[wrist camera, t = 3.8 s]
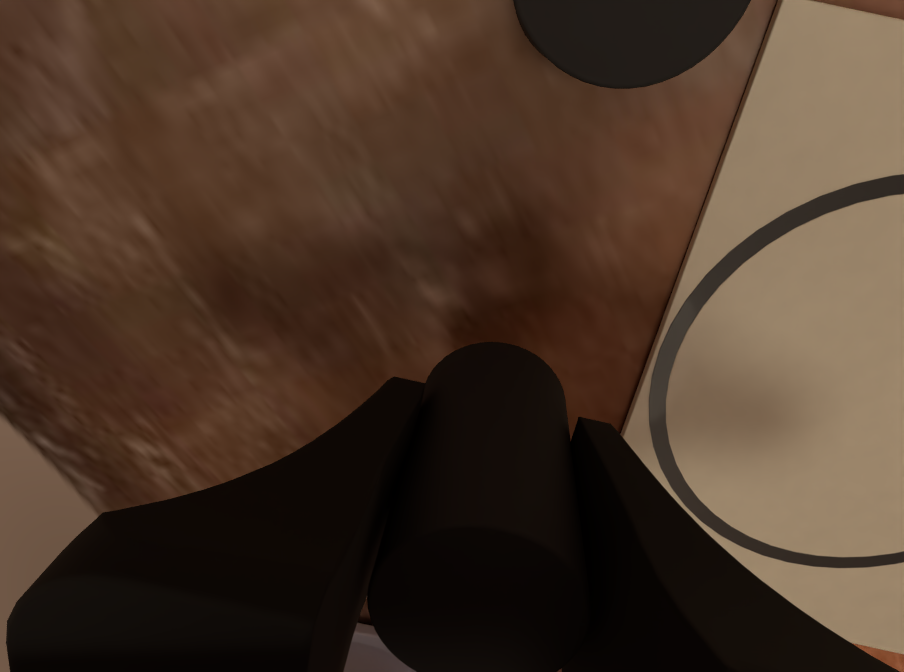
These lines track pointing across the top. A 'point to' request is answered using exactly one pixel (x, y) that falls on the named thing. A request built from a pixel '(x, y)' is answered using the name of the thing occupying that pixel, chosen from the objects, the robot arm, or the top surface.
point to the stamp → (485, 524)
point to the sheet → (797, 329)
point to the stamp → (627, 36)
